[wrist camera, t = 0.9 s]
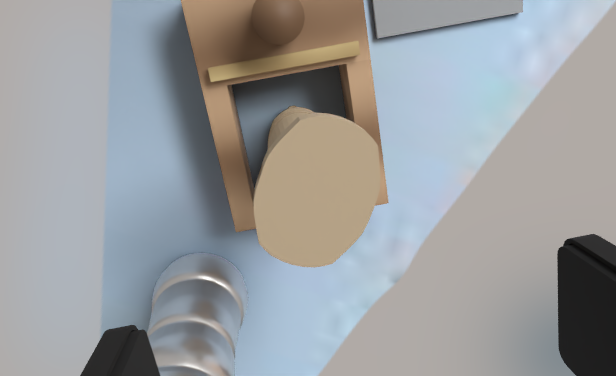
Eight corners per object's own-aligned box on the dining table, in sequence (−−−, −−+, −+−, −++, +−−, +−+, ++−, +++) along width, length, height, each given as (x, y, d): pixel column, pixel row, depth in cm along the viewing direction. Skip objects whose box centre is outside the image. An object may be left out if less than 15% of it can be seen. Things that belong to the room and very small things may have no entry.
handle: (248, 160, 34) (236, 249, 20) (275, 72, 32) (284, 100, 18) (312, 179, 35) (345, 278, 20) (342, 95, 33) (401, 139, 19)
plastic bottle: (179, 229, 35) (77, 458, 16) (263, 262, 36) (262, 509, 17) (148, 300, 36) (21, 587, 17) (230, 329, 38) (195, 624, 19)
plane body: (188, -3, 30) (168, -13, 24) (348, -31, 31) (369, -48, 24) (238, 213, 35) (233, 251, 29) (376, 187, 35) (400, 219, 29)
